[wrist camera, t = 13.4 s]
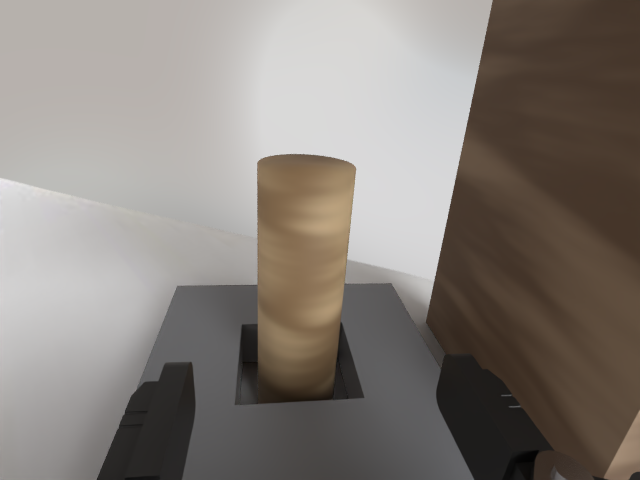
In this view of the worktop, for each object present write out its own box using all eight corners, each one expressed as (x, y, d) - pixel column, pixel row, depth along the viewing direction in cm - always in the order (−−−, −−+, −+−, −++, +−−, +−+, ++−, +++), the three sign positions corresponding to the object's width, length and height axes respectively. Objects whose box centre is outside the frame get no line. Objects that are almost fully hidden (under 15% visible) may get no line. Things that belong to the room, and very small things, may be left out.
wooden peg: (326, 370, 25) (345, 155, 20) (338, 427, 21) (366, 178, 16) (258, 373, 25) (258, 152, 19) (257, 432, 21) (256, 176, 15)
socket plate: (386, 315, 32) (391, 283, 30) (489, 528, 17) (506, 482, 16) (180, 320, 29) (177, 285, 28) (98, 570, 15) (84, 522, 14)
